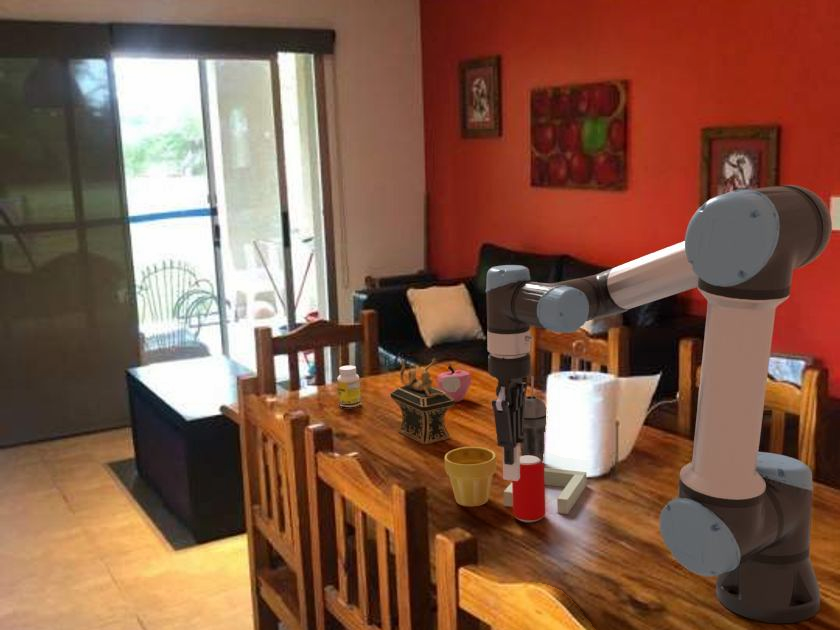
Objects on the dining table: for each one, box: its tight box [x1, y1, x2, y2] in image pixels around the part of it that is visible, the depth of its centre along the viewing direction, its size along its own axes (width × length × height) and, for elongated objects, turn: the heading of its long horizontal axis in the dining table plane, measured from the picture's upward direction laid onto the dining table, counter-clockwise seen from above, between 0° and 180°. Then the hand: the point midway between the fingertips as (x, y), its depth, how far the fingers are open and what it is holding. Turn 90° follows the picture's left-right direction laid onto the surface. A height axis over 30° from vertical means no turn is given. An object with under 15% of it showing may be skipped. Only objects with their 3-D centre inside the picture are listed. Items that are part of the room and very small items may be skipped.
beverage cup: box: [519, 375, 547, 462], centre depth 200 cm, size 7×7×20 cm
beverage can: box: [511, 455, 546, 523], centre depth 172 cm, size 6×6×12 cm
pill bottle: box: [336, 365, 362, 407], centre depth 251 cm, size 6×6×11 cm
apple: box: [437, 364, 472, 403], centre depth 251 cm, size 10×9×10 cm
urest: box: [503, 467, 588, 515], centre depth 183 cm, size 15×13×3 cm
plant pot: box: [444, 446, 497, 508], centre depth 182 cm, size 10×10×10 cm
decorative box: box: [390, 356, 456, 445], centre depth 224 cm, size 20×10×20 cm, turn 31°
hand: (511, 478), depth 163 cm, fingers closed
